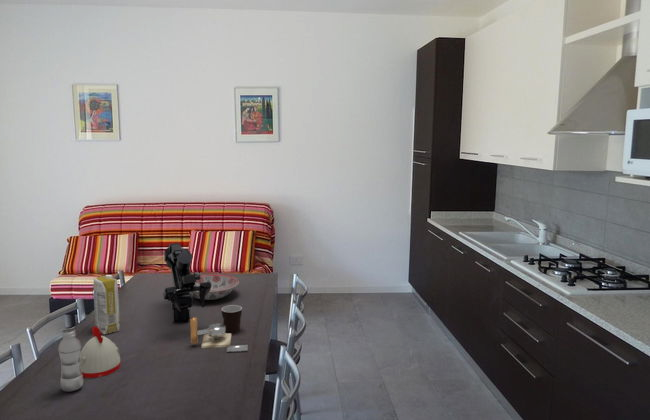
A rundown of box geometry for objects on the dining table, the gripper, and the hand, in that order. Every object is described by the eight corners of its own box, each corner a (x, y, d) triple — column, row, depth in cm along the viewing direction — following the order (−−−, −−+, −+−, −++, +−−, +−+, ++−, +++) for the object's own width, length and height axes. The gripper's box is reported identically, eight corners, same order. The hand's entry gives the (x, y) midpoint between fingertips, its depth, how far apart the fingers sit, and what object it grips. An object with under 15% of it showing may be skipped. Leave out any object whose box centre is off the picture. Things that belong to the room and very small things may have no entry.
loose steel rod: (226, 353, 180) (226, 347, 179) (227, 351, 182) (227, 345, 182) (247, 352, 181) (247, 346, 181) (247, 350, 183) (247, 344, 183)
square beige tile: (201, 348, 183) (201, 341, 183) (204, 336, 194) (204, 329, 193) (230, 346, 185) (229, 339, 184) (231, 335, 196) (231, 328, 195)
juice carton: (122, 331, 198) (119, 276, 195) (102, 336, 193) (99, 280, 189) (112, 324, 205) (109, 271, 201) (93, 330, 199) (90, 275, 195)
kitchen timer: (112, 355, 176) (110, 317, 174) (127, 368, 166) (125, 328, 164) (72, 367, 166) (69, 327, 164) (85, 382, 157) (82, 339, 155)
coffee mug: (237, 336, 195) (237, 313, 194) (218, 334, 197) (218, 311, 195) (247, 325, 206) (247, 303, 205) (229, 323, 208) (229, 302, 207)
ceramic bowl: (250, 294, 247) (250, 280, 246) (209, 311, 223) (209, 295, 221) (211, 285, 262) (211, 271, 261) (168, 299, 238) (168, 284, 237)
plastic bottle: (66, 384, 155) (62, 326, 152) (87, 383, 156) (83, 326, 153) (56, 394, 149) (52, 335, 146) (79, 394, 149) (75, 334, 146)
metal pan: (222, 333, 194) (222, 310, 192) (227, 339, 188) (227, 316, 186) (189, 339, 187) (188, 315, 186) (192, 346, 181) (192, 321, 180)
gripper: (164, 269, 187) (171, 304, 180) (209, 263, 197) (218, 296, 190) (160, 282, 195) (167, 316, 188) (204, 275, 205) (212, 308, 198)
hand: (192, 309), depth 191 cm, fingers open, 9 cm apart
